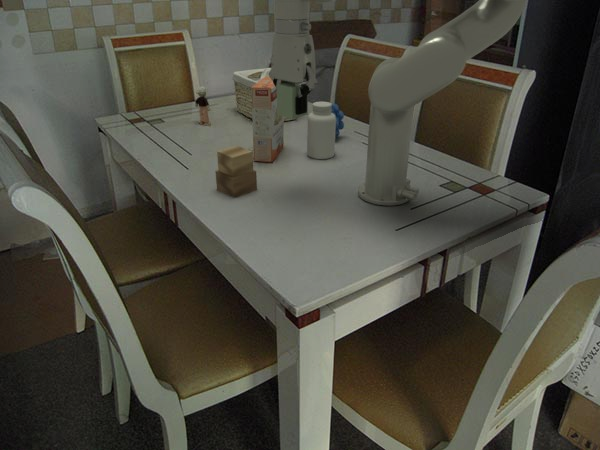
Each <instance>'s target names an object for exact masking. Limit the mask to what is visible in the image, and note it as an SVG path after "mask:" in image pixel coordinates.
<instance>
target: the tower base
mask: <svg viewBox="0 0 600 450" xmlns="http://www.w3.org/2000/svg"><path fill="white" fill-rule="evenodd" d="M257 177H258V176H257V170H255V169H253V172H250V173H247V174H244V175H240V176H237V177H234V178H233V177H231V176H229V175H226V174H224V173H222V172H220V171H219V170H218V169H217V170H215V181H216V190H217V191H219V192H221V193H224V194H226V195H228V196H230V197H232V198H235V199H236V198H238V197H241V196H243V195H247V194H249V193H251V192H254V191H256V190H258V183H257V182H258V180H257Z"/></svg>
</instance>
